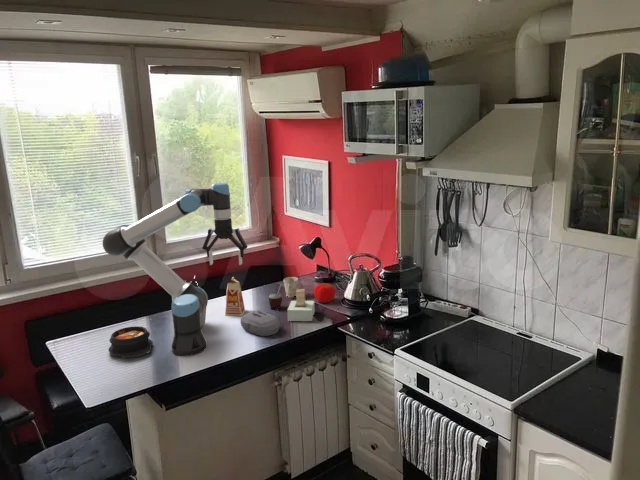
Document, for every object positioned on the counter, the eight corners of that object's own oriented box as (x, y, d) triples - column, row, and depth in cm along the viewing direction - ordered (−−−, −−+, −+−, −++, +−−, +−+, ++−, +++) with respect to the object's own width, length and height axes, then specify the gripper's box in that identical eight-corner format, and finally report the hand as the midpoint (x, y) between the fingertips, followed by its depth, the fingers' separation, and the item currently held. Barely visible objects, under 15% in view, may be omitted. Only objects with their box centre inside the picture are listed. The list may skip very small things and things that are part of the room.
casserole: (102, 346, 234) (100, 329, 232) (143, 336, 245) (141, 319, 243) (117, 366, 214) (114, 347, 212) (161, 353, 225) (159, 335, 223)
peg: (304, 317, 261) (303, 291, 258) (297, 317, 261) (295, 291, 258) (305, 315, 265) (304, 289, 262) (298, 315, 265) (297, 289, 262)
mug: (299, 293, 299) (299, 277, 297) (296, 300, 287) (295, 283, 284) (285, 293, 300) (284, 277, 297) (281, 300, 288) (281, 283, 285)
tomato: (311, 304, 281) (310, 286, 279) (317, 297, 291) (317, 279, 289) (332, 305, 277) (332, 287, 275) (338, 298, 288) (337, 281, 286)
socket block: (311, 321, 256) (311, 310, 254) (287, 321, 257) (287, 310, 256) (314, 311, 269) (314, 300, 268) (291, 311, 270) (291, 300, 269)
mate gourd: (266, 307, 277) (265, 281, 274) (279, 304, 281) (278, 278, 278) (273, 311, 271) (272, 284, 268) (286, 308, 275) (285, 281, 272)
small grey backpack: (236, 329, 249) (262, 340, 235) (235, 313, 247) (261, 323, 234) (261, 320, 260) (287, 330, 246) (260, 305, 258) (286, 314, 244)
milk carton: (242, 315, 267) (239, 278, 263) (224, 315, 267) (221, 279, 263) (245, 309, 276) (242, 273, 271) (228, 309, 276) (225, 273, 272)
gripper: (252, 216, 232) (254, 261, 237) (198, 217, 234) (202, 262, 239) (248, 219, 225) (251, 266, 229) (192, 220, 227) (196, 266, 232)
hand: (226, 264), depth 234 cm, fingers open, 13 cm apart
